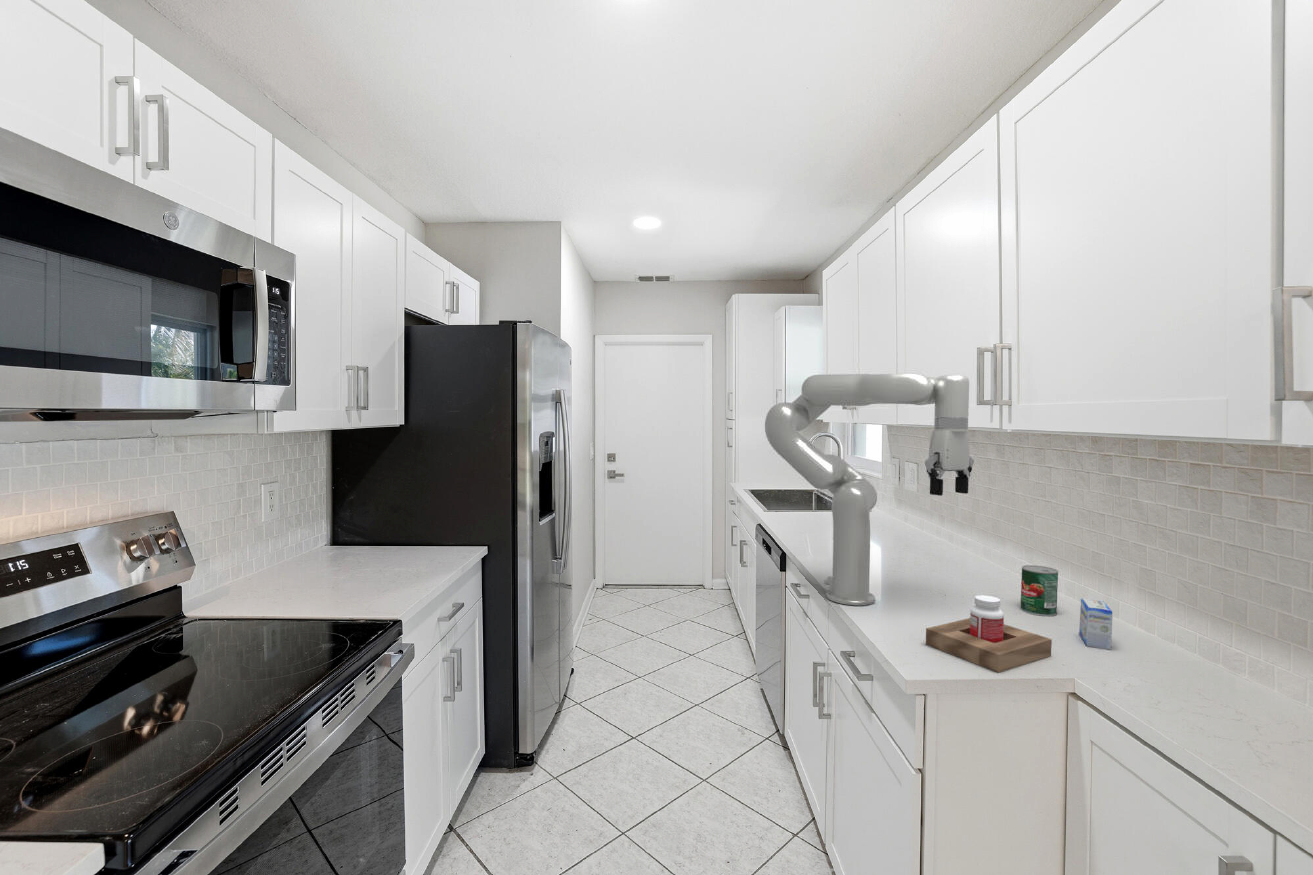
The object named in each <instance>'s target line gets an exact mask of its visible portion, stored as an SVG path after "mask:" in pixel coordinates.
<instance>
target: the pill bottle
mask: <svg viewBox="0 0 1313 875" xmlns="http://www.w3.org/2000/svg"><path fill="white" fill-rule="evenodd" d="M974 604H975V605H974V606H972V607H971V608H970V614H969V615H970V617H969V618H970V635H972V636H975V637H978V638H981V639H983V640H986V641H989V642H992V643H997V642H1001V641H1003V626H1004V621H1005V620H1004V618H1005V617H1004V616H1005V614H1004V612H1003V611H1002V610H1001V609H1000V606H1001V599H1000V598H998V597H996V596H995V597H994V596H991V595H983V594H982V595H981V594H980V595H975V596H974Z"/></svg>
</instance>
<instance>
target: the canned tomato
mask: <svg viewBox="0 0 1313 875" xmlns="http://www.w3.org/2000/svg"><path fill="white" fill-rule="evenodd" d="M1058 582H1059V570H1058V569H1056V568H1054V567H1049V566H1044V565H1035V564H1034V565H1031V564H1027V565H1022V566H1021V582H1020V583H1021V584H1020V587H1021V588H1020V607H1019V608H1020V610H1021V611H1022V612H1024V613H1026V614H1030V615H1036V616H1042V617H1054V616H1057V614H1058V613H1057V612H1058V611H1057V610H1058V609H1057V608H1058V589H1059V588H1058V586H1059V584H1058Z"/></svg>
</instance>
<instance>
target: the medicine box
mask: <svg viewBox="0 0 1313 875" xmlns="http://www.w3.org/2000/svg"><path fill="white" fill-rule="evenodd" d="M1079 611H1080V612H1079V630H1078V634H1079V636H1080V638H1081V639H1082V641H1083V642H1084V644H1085V646H1087V647H1089V648H1093V649H1094V648H1095V649H1100V648H1101V649H1102V650H1111V649H1112V637H1113V636H1112V632H1113V610H1112V609H1111V608H1110V607H1109V606H1108V605H1107V603H1106V602H1105V601H1104V600H1100V599H1093V598H1085V597H1082V598H1081V599H1080V610H1079ZM1101 649H1100V650H1101Z"/></svg>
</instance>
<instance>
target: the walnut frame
mask: <svg viewBox="0 0 1313 875" xmlns="http://www.w3.org/2000/svg"><path fill="white" fill-rule="evenodd" d="M925 628H926V629H925V645H926V646H929V647H932V648H934V649H937V650H939V651H941V652H944V653H946V654H949V655H952V656H955V657H957V658H959V659H961V660H965V661H968V662H970V663H973V664H976V665H978V666H980V667H983V668H985V669H988V670H991V671H993V672H996V673H998V674H999V673H1001V672H1006V671H1008V670H1011V669H1015V668H1018V667H1021V666H1024V665H1027V664H1029V663H1034V662H1037V661H1040V660H1043V659H1047V658H1049V657H1052V641H1053V640H1052V638H1049V637H1046V636H1043V635H1039V634H1036V633H1034V632H1030V631H1026V630H1023V629H1021V628H1018V627H1014V626H1011V625H1008V624H1004V626H1003V641H1001V642H997V643H992V642H989V641H986V640H983V639H981V638H978V637H975V636H972V635H970V617H968V618H964V619H960V620H956V621H952V622H947V623H944V624H938V625H935V626H931V627H925Z"/></svg>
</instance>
